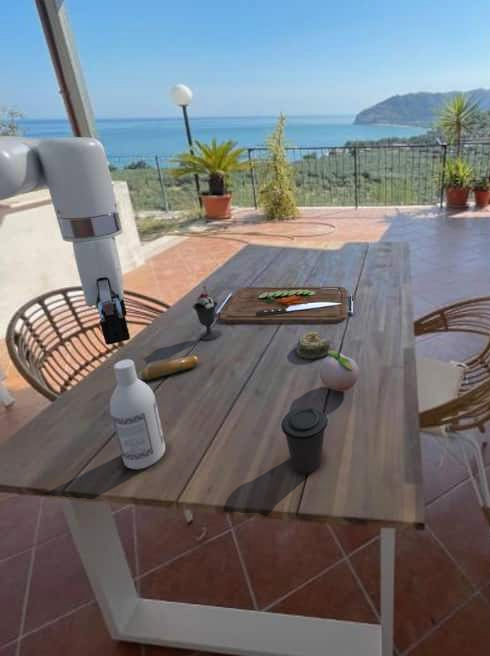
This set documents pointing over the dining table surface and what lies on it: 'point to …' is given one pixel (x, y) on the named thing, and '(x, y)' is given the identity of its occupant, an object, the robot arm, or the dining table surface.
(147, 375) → the breadstick
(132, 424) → the bath foam
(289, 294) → the chopping board
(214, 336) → the sundae
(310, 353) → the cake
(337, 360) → the decorative fruit
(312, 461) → the coffee cup
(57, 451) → the dining table surface
